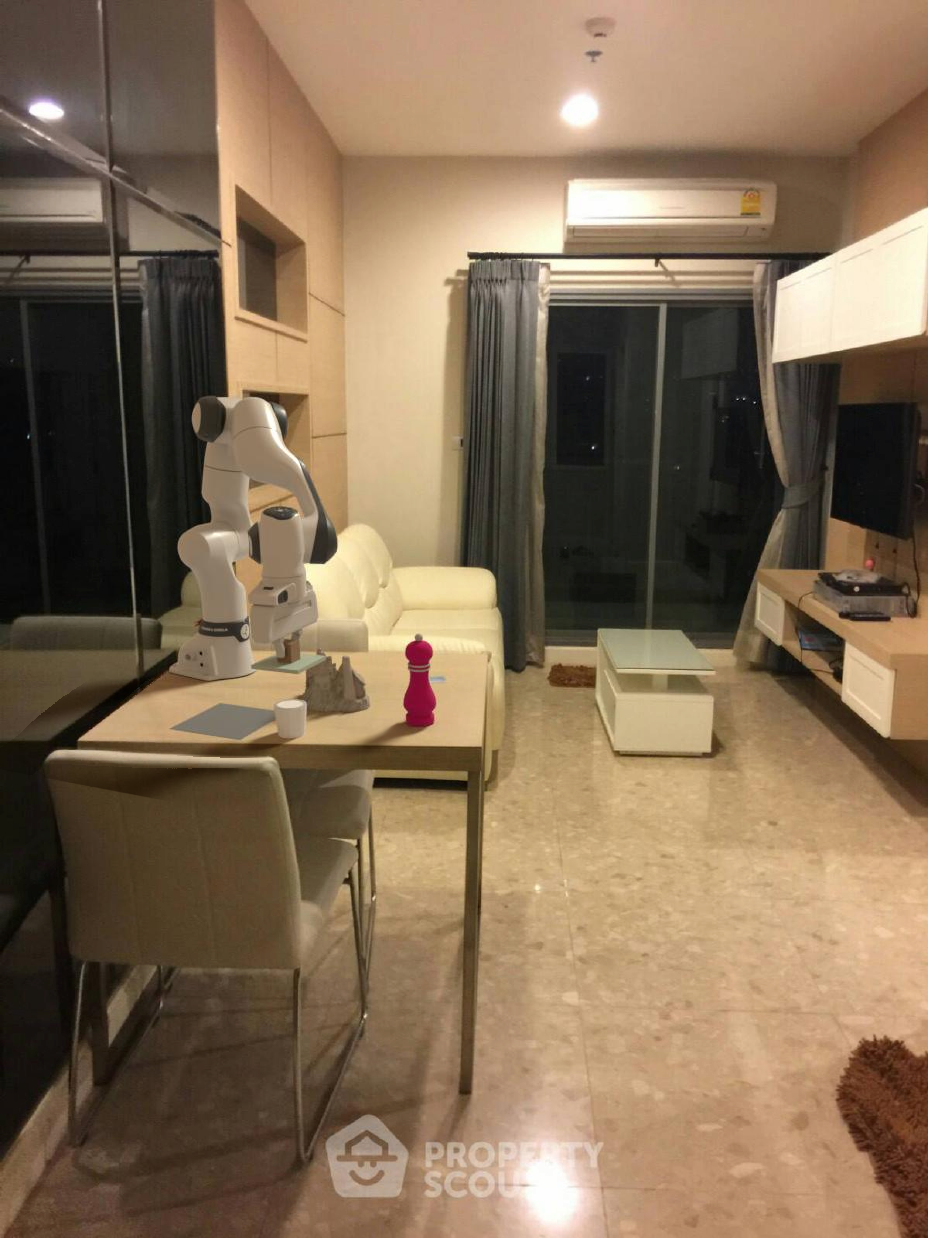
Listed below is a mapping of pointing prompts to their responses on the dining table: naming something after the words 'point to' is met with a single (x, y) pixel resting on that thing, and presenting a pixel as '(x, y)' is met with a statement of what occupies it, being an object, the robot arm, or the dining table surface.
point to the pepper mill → (419, 684)
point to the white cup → (291, 718)
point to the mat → (227, 721)
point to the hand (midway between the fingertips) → (288, 653)
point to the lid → (289, 660)
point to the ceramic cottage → (335, 687)
